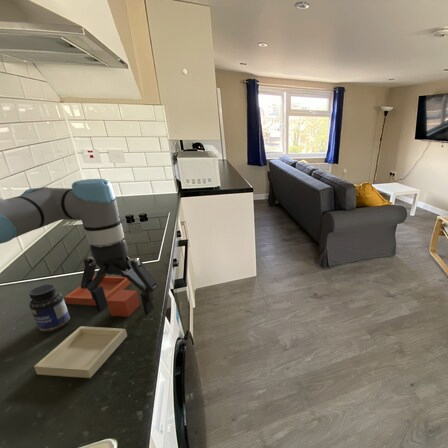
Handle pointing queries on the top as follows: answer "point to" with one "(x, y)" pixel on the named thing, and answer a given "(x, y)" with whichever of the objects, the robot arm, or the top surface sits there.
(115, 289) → the terracotta tray
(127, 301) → the block
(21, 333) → the top surface
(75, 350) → the cream tray
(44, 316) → the pill bottle
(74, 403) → the top surface
